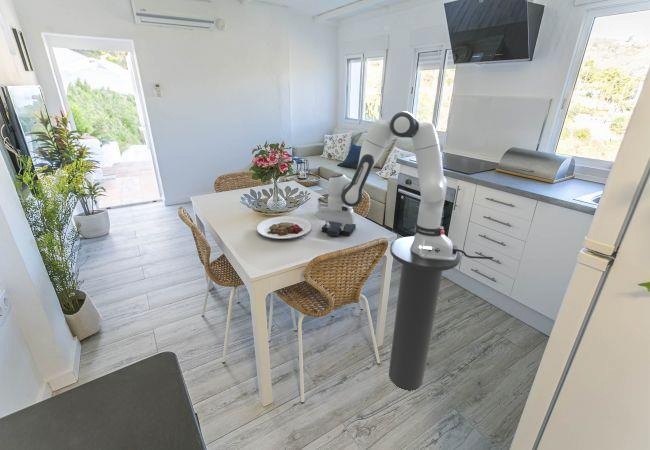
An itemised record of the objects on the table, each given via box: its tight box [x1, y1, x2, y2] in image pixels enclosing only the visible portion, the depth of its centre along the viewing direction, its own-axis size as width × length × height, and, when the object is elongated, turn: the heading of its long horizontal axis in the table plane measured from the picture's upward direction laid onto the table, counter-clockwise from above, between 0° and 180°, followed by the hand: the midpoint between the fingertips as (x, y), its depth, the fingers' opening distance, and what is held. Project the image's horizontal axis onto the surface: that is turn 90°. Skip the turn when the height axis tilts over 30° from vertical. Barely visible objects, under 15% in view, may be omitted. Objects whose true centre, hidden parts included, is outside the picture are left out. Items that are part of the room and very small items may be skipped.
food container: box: [317, 196, 328, 204], centre depth 198 cm, size 12×6×10 cm, turn 34°
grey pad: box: [326, 224, 343, 237], centre depth 170 cm, size 6×10×2 cm, turn 159°
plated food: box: [256, 215, 312, 240], centre depth 174 cm, size 30×30×3 cm
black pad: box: [321, 221, 357, 237], centre depth 176 cm, size 16×12×2 cm
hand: (335, 229), depth 170 cm, fingers closed on grey pad, 6 cm apart
